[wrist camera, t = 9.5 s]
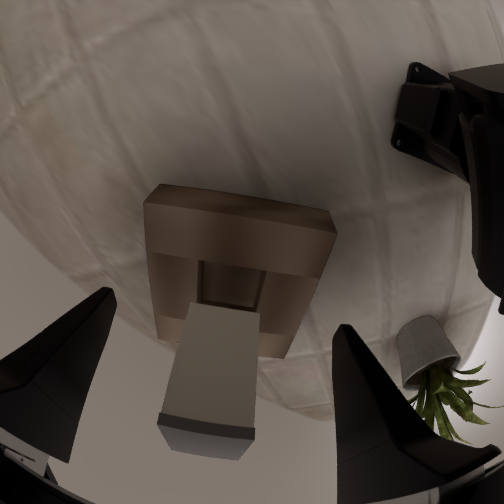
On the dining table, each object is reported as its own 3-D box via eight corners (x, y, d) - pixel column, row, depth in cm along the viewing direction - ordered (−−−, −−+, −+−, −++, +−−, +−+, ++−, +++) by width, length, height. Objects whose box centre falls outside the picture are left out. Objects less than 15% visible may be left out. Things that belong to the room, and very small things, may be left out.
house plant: (356, 378, 32) (370, 487, 19) (342, 320, 25) (367, 485, 12) (448, 345, 28) (480, 446, 15) (465, 276, 21) (531, 411, 8)
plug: (260, 312, 15) (254, 440, 9) (245, 365, 19) (237, 460, 13) (189, 301, 15) (156, 424, 9) (190, 356, 19) (171, 449, 13)
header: (328, 211, 18) (337, 233, 16) (283, 334, 27) (284, 358, 24) (159, 183, 18) (143, 202, 15) (166, 315, 26) (158, 338, 24)
